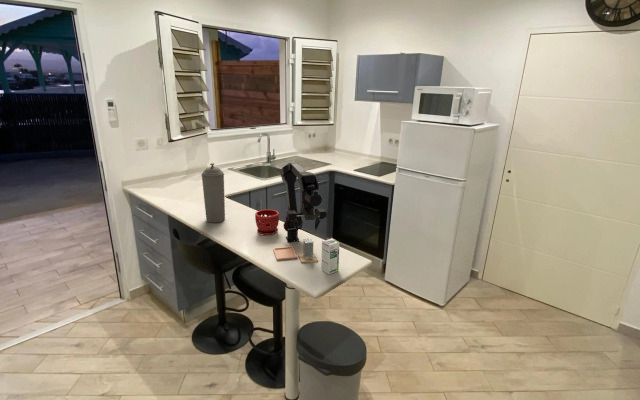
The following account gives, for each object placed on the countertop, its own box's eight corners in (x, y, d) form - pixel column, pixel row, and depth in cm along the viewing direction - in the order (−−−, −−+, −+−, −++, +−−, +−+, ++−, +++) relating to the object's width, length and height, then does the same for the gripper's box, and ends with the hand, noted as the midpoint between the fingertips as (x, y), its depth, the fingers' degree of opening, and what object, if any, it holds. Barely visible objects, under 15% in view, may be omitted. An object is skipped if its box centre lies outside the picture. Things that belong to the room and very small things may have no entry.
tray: (273, 249, 177) (273, 247, 177) (292, 247, 180) (292, 246, 180) (276, 260, 166) (276, 258, 166) (297, 258, 169) (297, 256, 169)
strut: (303, 252, 170) (303, 239, 168) (311, 251, 171) (311, 238, 169) (304, 256, 166) (305, 243, 164) (313, 255, 167) (313, 242, 165)
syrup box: (328, 274, 156) (329, 245, 151) (320, 269, 160) (321, 240, 156) (338, 271, 159) (340, 242, 154) (330, 265, 163) (331, 237, 159)
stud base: (298, 255, 172) (298, 251, 171) (313, 254, 174) (313, 249, 173) (301, 263, 165) (301, 258, 164) (318, 261, 167) (318, 257, 166)
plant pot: (283, 231, 200) (283, 211, 196) (269, 239, 189) (268, 218, 185) (265, 226, 206) (265, 207, 202) (250, 233, 195) (250, 213, 191)
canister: (216, 214, 221) (212, 160, 210) (231, 219, 215) (228, 163, 204) (200, 220, 211) (195, 163, 200) (215, 225, 205) (211, 166, 194)
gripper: (290, 206, 155) (290, 239, 159) (331, 204, 160) (329, 235, 164) (286, 199, 165) (286, 229, 170) (324, 197, 170) (323, 226, 175)
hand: (306, 230), depth 169 cm, fingers open, 9 cm apart
